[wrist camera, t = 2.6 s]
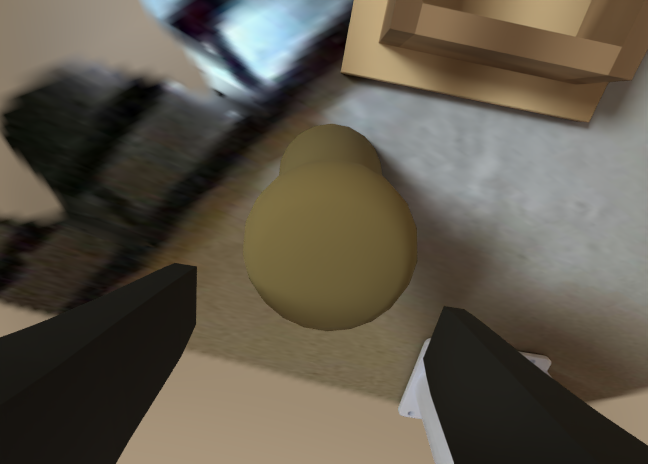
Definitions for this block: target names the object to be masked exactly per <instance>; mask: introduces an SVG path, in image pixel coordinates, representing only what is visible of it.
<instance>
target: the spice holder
mask: <svg viewBox="0 0 648 464" xmlns="http://www.w3.org/2000/svg"><path fill="white" fill-rule="evenodd" d="M647 49H648V0H354V3H353V8H352V14H351V19H350V25H349V30H348V36H347V41H346V47H345V52H344V58H343V63H342V69H341V73H343V74H348V75H353V76H358V77H363V78H368V79H372V80H377V81H382V82H387V83H392V84H397V85H402V86H407V87H412V88H417V89H421V90H426V91H431V92H436V93H441V94H446V95H451V96H456V97H461V98H465V99H470V100H475V101H480V102H485V103H490V104H495V105H500V106H505V107H509V108H514V109H519V110H524V111H529V112H534V113H539V114H544V115H549V116H554V117H558V118H563V119H568V120H573V121H579V122H589V121H590V119H591V117H592V115H593V113H594V111H595V109H596V107H597V105H598V103H599V101H600V99H601V97H602V95H603V93H604V91H605V88H606V86H607V84H608V82H616V81H629V80H632V78H633V76H634V74H635V72H636V70H637V68H638V67H639V65H640V63H641V61H642V59H643V57H644V55H645V53H646V51H647Z"/></svg>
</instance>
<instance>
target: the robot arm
mask: <svg viewBox="0 0 648 464" xmlns="http://www.w3.org/2000/svg"><path fill="white" fill-rule="evenodd" d="M196 287H197V266H190V265H184V264H178V263H174V264H171V265H169V266H166V267H164V268H162V269H160V270H157V271H155V272H153V273H151V274H149V275H147V276H145V277H143V278H140V279H138V280H136V281H134V282H132V283H130V284H128V285H126V286H123V287H121V288H119V289H117V290H115V291H113V292H111V293H108V294H106V295H104V296H102V297H100V298H97V299H95V300H93V301H90V302H88V303H86V304H83V305H81V306H79V307H76V308H74V309H72V310H69V311H67V312H65V313H62V314H60V315H57V316H55V317H53V318H50V319H48V320H45V321H43V322H40V323H38V324H35V325H33V326H30V327H27V328H25V329H22V330H19V331H17V332H14V333H11V334H8V335H6V336H3V337H0V464H116V462H117V461H118V459H119V457H120V455H121V454H122V452H123V450H124V448H125V447H126V445H127V443H128V441H129V440H130V438H131V437H132V435H133V433H134V432H135V430H136V429H137V427H138V425H139V424H140V422H141V420H142V418H143V417H144V416H145V414H146V413H147V411H148V409H149V408H150V406H151V405H152V403H153V401H154V400H155V398H156V396H157V395H158V393H159V391H160V390H161V389H162V387H163V385H164V384H165V382H166V380H167V379H168V377H169V376H170V374H171V372H172V371H173V369H174V367H175V366H176V364H177V362H178V361H179V359H180V357H181V356H182V354H183V351H184V349H185V347H186V345H187V343H188V341H189V339H190V336H191V334H192V332H193V330H194V328H195V325H196ZM550 365H551V360H550V359H549V358H548V357H547V356H544V355H537V354H531V353H525V352H519V351H517V350H516V349H515V348H513V347H512V346H511V345H510V344H509V343H507V342H506V341H505V340H504V339H502V338H501V337H500V336H499V335H497V334H496V333H495V332H494V331H492V330H491V329H490V328H489V327H487V326H486V325H485V324H484V323H482V322H481V321H480V320H478V319H477V318H476V317H474V316H473V315H472V314H470V313H469V312H467V311H466V310H464V309H458V308H452V307H446V306H444V307H443V310H442V312H441V315H440V317H439V320H438V322H437V325H436V327H435V330H434V332H433V335H432V337H431V338H428V339H427V340H426V341H425V342H424V345H423V347H422V350H421V352H420V355H419V357H418V360H417V362H416V365H415V367H414V370H413V372H412V375H411V377H410V380H409V382H408V385H407V387H406V390H405V392H404V395H403V397H402V400H401V402H400V405H399V407H398V411H399V414H400V415H402V416H405V417H412V418H419V419H422V420H423V424H424V427H425V430H426V434H427V438H428V441H429V444H430V448H431V451H432V455H433V458H434V462H435V464H648V445H646V444H645V443H643V442H642V441H640V440H639V439H637V438H636V437H634V436H633V435H631V434H630V433H628V432H627V431H625V430H624V429H622V428H621V427H619V426H618V425H616V424H615V423H613V422H612V421H610V420H609V419H607V418H606V417H605V416H603V415H601V414H600V413H598V411H596V410H595V409H593V408H592V407H590V406H589V405H588V404H586V403H585V402H584V401H582V400H581V399H579V398H578V397H577V396H575V395H574V394H573V393H571V392H570V391H569V390H567V389H566V388H565V387H563V386H562V385H561V384H559V383H558V382H557V381H555V380H554V379H553V378H552V377H551V376H550V374H549V373H548V372H547V370H548V369H549V367H550Z"/></svg>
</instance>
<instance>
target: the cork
mask: <svg viewBox="0 0 648 464" xmlns="http://www.w3.org/2000/svg"><path fill="white" fill-rule="evenodd" d="M243 257H244V261H245V265H246V269H247V273H248V276H249V279H250V281H251V282H252V284H253V285H254V287H255V288H256V290H257V291H258V293H259V294H260V296H261V298H262V299H263V300H264V301H265V303H266V304H267V305H269V306H270V307H271V308H272V309H273V310H275V311H276V312H277V313H278V314H279V315H281V316H282V317H283V318H285V319H287V320H289V321H291V322H294V323H296V324H298V325H300V326H303V327H306V328H312V329H318V330H324V331H333V330H345V329H352V328H354V327H357V326H360V325H363V324H366V323H368V322H371V321H373V320H374V319H376V318H377V317H379V316H380V315H381V314H383V313H384V312H386V311H387V310H388V309H390V308H391V307H392V306H393V304H394V303H395V302H396V301H397V299H398V298H399V297H400V295H401V294H402V293H403V292H404V290H405V289H406V288H407V286H408V285H409V283H410V280H411V278H412V275H413V272H414V269H415V266H416V263H417V228H416V225H415V223H414V220H413V217H412V215H411V212H410V210H409V207H408V204H407V203H406V201H405V200H404V199H403V198H402V197H401V196H400V194H399V193H398V192H397V191H396V190H395V189H394V187H393V186H392V185H391V184H390V183H389V182H388V181H387V179H386V178H384V177H383V176H382V170H381V163H380V161H379V158H378V156H377V153H376V151H375V148H374V147H373V146H372V145H371V144H370V142H369V141H368V140H367V139H366V138H365V137H364V136H363V135H362V134H360V133H358V132H356V131H355V130H353V129H351V128H350V127H346V126H341V125H336V124H327V125H320V126H314V127H312V128H310V129H308V130H306V131H304V132H302V133H300V134H299V135H298V136H297V137H296V138H295V139H294V140H293V141H292V142H291V143H290V144H289V145H288V147H287V149H286V151H285V153H284V155H283V157H282V160H281V165H280V172H279V176H278V177H277V178H276V179H275V180H274V181H273V182H272V183H271V184H270V185H269V186H268V187H267V188H266V189H265V190H264V191H263V192H262V193H261V194H260V195H259V197H258V198H257V199H256V202H255V204H254V206H253V208H252V210H251V212H250V214H249V216H248V218H247V220H246V225H245V235H244V246H243Z"/></svg>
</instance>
